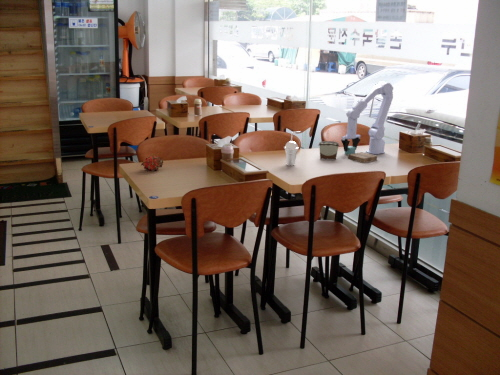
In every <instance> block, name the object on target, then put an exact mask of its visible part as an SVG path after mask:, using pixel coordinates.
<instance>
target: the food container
mask: <svg viewBox="0 0 500 375" xmlns="http://www.w3.org/2000/svg"><path fill="white" fill-rule="evenodd" d="M318 146H319V158H320V160H327V161H328V160H329V161H330V160H332V161H335V160H336V161H337V155H338V151H339V147H340V143H339V142H338V141H334V140H333V141H331V140H324V141H323V140H321V141H320V142H319V143H318Z"/></svg>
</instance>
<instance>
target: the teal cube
mask: <svg viewBox="0 0 500 375" xmlns="http://www.w3.org/2000/svg"><path fill="white" fill-rule="evenodd" d="M355 148H356V147H353V145H348V151H347V152H346V151H344V154H345V155H348V154H354V153H356V150H355ZM356 149H357V148H356Z"/></svg>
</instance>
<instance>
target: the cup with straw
mask: <svg viewBox="0 0 500 375" xmlns="http://www.w3.org/2000/svg"><path fill="white" fill-rule="evenodd" d="M298 133H302V130H300V131H299V130H297V131H291V133H290V134H291V136H290V141H287V142H286V143H285V146H283V149H284V151H285V159H286V160H285V162H286V166H287V165H294V166H295V165H296V159H297V154H298V150H299V149H300V147H299V145H298V143H297V142H295V141H293V134H298Z"/></svg>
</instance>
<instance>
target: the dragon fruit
mask: <svg viewBox="0 0 500 375" xmlns="http://www.w3.org/2000/svg"><path fill="white" fill-rule="evenodd" d="M163 165H164V161H163V159H162V158H161V157H158V156H157V155H153V156H152V155H150V156H148V157H146V158H145V159H144V160H143V161H142V162H141V163H140V166H143V169H144V170H145V171H146V170H147V171H152V172H154V171H158V170H159V168H162V167H163Z"/></svg>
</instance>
